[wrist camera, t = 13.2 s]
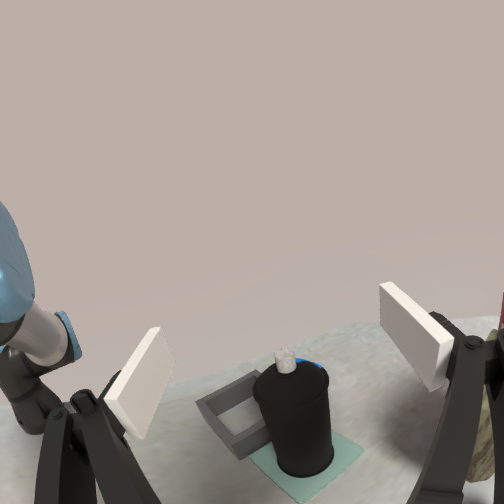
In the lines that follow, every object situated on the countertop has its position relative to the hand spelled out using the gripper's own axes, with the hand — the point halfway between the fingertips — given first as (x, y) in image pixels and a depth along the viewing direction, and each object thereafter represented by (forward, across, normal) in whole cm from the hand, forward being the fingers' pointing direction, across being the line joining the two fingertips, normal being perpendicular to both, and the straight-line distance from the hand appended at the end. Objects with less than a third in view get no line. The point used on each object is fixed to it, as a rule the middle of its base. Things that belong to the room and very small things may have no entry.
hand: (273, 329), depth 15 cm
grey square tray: (+19, -8, -29) cm, 35 cm away
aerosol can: (+8, 0, -28) cm, 29 cm away
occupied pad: (+8, 0, -29) cm, 30 cm away
